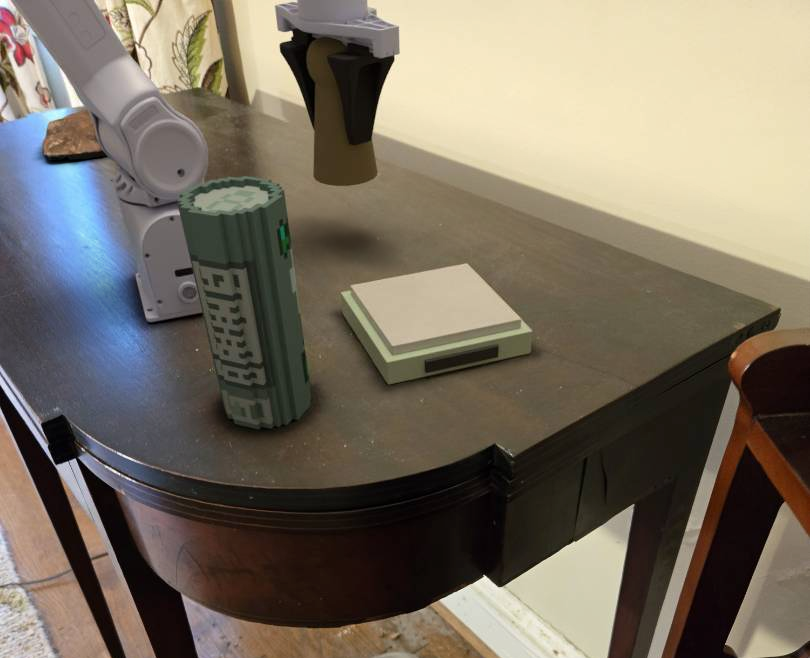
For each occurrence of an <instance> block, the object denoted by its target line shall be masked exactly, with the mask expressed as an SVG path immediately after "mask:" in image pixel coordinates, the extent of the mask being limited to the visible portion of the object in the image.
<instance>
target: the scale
mask: <svg viewBox="0 0 810 658" xmlns="http://www.w3.org/2000/svg"><path fill="white" fill-rule="evenodd" d="M349 287H350V290H347V291H346V290H345V291H341V292H340V300H341V311H342V315H343V316H344V319H346V321H347V323H348V325H349V326H350V327H351V329H352V331H353V332H354V334H355V335H356V337H357V339H358V340H359V342H360V343H361V345H362V346H363V348H364V350H365V351H366V353H367V354H368V356H369V358H370V359H371V360H372V362H373V363H374V365H375V367H376V369H377V370H378V372H379V373H380V375H381V376H382V377H383V379H384V381H385V382H386V384H387V385H388V386H390V385H393V384H397V383H402V382H407V381H411V380H416V379H420V378H426V377H429V376H434V375H439V374H443V373H447V372H451V371H456V370H461V369H465V368H470V367H474V366H479V365H484V364H487V363H492V362H497V361H502V360H505V359H510V358H516V357H520V356H524V355H529V354H531V353H532V341H533V334H534V333H533V329H532V328H531V327H530V326H529V325H528V324H527V323H526V322H525V321H524V320H523V319H522V318H521V317H520V316H519V315H518V314H517V313H516V312H515V310H513V309H512V308H511V306H510V305H509V304H508V303H506V301H504V299H503V298H502V297H501V296H500V295H499V294H498V293H497V292H496V291H495V290H494V289H493V288H492V287H491V286H490V285H489V284H488V283H487V282H486V281H485V280H484V279H483V278H482V277H481V276H480V275H479V274H478V273H477V272H476V270H475V269H473V268H472V267H471V266H470V264H468V263H467V262H466V263H462V264H457V265H451V266H450V265H449V266H446V267H441V268H434V269H429V270H423V271H419V272H415V273H414V272H413V273H408V274H403V275H399V276H398V275H397V276H392V277H388V278H382V279H377V280H372V281H371V280H370V281H367V282H366V281H365V282H361V283H355V284H350V286H349Z"/></svg>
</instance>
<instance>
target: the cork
mask: <svg viewBox="0 0 810 658" xmlns="http://www.w3.org/2000/svg"><path fill="white" fill-rule="evenodd" d="M344 51H347V46H345V45H344V44H343V43H342V41H340V40H337V39H334V38H330V37H321V38H318V39H315V40H314V41H313V42H311V44H310V46H309V48H308V51H307V57H306V61H307V68H308V71H309V74H310V76H311V77H312V79H313V80H314V82H315V122H314V129H313V137H314V138H313V178H314V180H315V181H317V182H318V183H319V184H323V185H327V186H334V187H349V186H357V185H361V184H365V183H368V182H370V181H372V180H374V179H375V178H376V177H378V167H377V161H376V154H375V149H374V142H373V138H372V139H371V141H369V142H365V143H362V144H359V145H351V144H349V141H348V138H347V134H346V128H345V121H344V114H343V107H342V101H341V97H340V93H339V89H338V86H337V83H336V80H335V77H334V74H333V72H332V70H331V68H330V65H329V63H328V61H327V55H330V54H335V53H339V52H344Z"/></svg>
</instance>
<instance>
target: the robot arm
mask: <svg viewBox="0 0 810 658" xmlns="http://www.w3.org/2000/svg"><path fill="white" fill-rule="evenodd" d="M296 1H297V2H296ZM296 1H289V2H284V3H279V4H275V5H274V10H275V19H276V26H277V27H276V28H277V31H278V32H282V33H288V32H292V36H291V37H290V40H287V41H282V42H280V43H279V46H278V47H279V52H280V54H281V56H282V57H283V59H284V61H285V62H286V63H287V65H288V67H289V68H290V71H291V73H292V75H293V76H294V79H295V81H296V83H297V85H298V88H299V91H300V93H301V96H302V99H303V102H304V105H305V108H306V111H307V115H308V118H309V120H310V123H311V126H312V129H313V130H314V122H315V82H314V80H313V79H312V77H311V76H310V74H309V71H308V68H307V61H306V57H307V51H308V48H309V46H310V44H311V42H313V41H314V40H315V39H318V38H321V37H330V38H334V39H337V40H340V41H342V43H343V44H344V45H345V46H347V51H344V52H339V53H335V54H330V55H327V61H328V63H329V65H330V68H331V70H332V72H333V74H334V77H335V80H336V83H337V86H338V89H339V93H340V97H341V101H342V107H343V114H344V121H345V128H346V134H347V138H348V141H349V144H351V145H359V144H362V143H365V142H369V141H371V139H372V140H373V133H374V128H375V122H376V116H377V110H378V106H379V101H380V98H381V94H382V90H383V87H384V84H385V82H386V79H387V77H388V75H389V72H390V71H391V68H392V66H393V64H394V63H395V56H397V55H400V53H401V52H400V26H399V25H398V24H393V23H391V22H388V21H386V20H384V19H382V18H381V17H379V16H378V13H377V12H378V11H377V8H375V7H370V6H368V5H369V4H368V0H296ZM10 2H11V3H12V5H13V6H14V7H15V10H17V12H18V13H19V14H20V15H21V17H22V19H23V20H24V21H25V22H26V24H27V25H28V27H29V28H30V29H31V30H32V32H33V34H34V35H35V36H36V37H37V39H38V40H39V41H40V43H41V44H42V46H43V47H44V48H45V49H46V51H47V52H48V53H49V55H50V56H51V58H52V59H53V60H54V62H55V63H56V65H57V66H58V67H59V68H60V70H61V71H62V72H63V74H64V75H65V77H66V78H67V79H68V81H69V82H70V84H71V86H72V88H73V90H74V92H75V94H76V96H77V98H78V100H79V101H80V102H81V103H82V105H83V106H84V108H85V109H87V111H88V112H89V114H90V116H91V118H92V121H93V124H94V128H95V133H96V137H97V140H98V142H99V144H100V146H101V148H102V150H103V151H104V152H105V154H106V156H107V157H108V158H109V159H110V160H111V161H112V162H114V163H115V164H116V165H117V168H118V169H117V172H116V177H115V184H114V189H115V192H116V195H117V200H118V203H119V207H120V209H121V211H120V212H121V214H122V217H123V221H124V225H125V228H126V232H127V235H128V240H129V242H130V246H131V249H132V253H133V257H134V260H135V263H136V268H137V271H138V272H136V273H135V275H134V277H135V280H136V284H137V288H138V291H139V297H140V299H141V300H140V301H141V304H142V307H143V312H144V316H145V319H146V321H147V322H149V323H155V322H161V321H165V320H166V321H167V320H170V319H171V320H172V319H176V318H182V317H187V316H191V315H197V314H203V313H202V309H201V304H200V300H199V296H198V291H197V287H196V282H195V278H194V274H193V269H192V265H191V261H190V256H189V252H188V247H187V243H186V239H185V234H184V230H183V226H182V221H181V217H180V213H179V208H178V204H177V200H178V199H180V196H179V194H181V193H183V192H184V191H186V190H188V189H189V188H191V187H193V186H194V185H196V184H197V183H202V184H204V183H206V181H205V177H206V173H207V171H208V166H209V150H208V149H209V148H208V145H207V141H206V139H205V137H204V135H203V133H202V131H201V129H200V128H199V127H198V126H197V125H196V124H195V122H194V121H192V120H191V119H190V118H189V117H187V116H186V115H184V114H182V113H181V112H179V111H177V110H176V109H175V108H173V107H172V106H171V105H170V104H169V102H168V100H166V98H165V97H164V95H163V93H162V91H160V89H159V88H158V86H157V85H156V84H155V83H154V81H153V80H152V79H151V78H150V76H148V75H147V74H146V72H145V71H144V70H143V69H142V68H141V66H140V65H139V64H138V63H137V62H136V60H135V59H134V58H133V57H132V55H131V54H130V53H129V51H128V50H127V48H126V47H125V45H124V43H123V42H122V41H121V39H120V38H119V36H118V35H117V33H116V32H115V30H114V29H113V27H112V26H111V24H110V23H109V21H108V19H107V18H106V16H105V15H104V13H103V12H102V10H101V9H100V7H99V6H98V4H97V3H96V1H95V0H10Z"/></svg>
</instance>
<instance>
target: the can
mask: <svg viewBox="0 0 810 658" xmlns="http://www.w3.org/2000/svg"><path fill="white" fill-rule="evenodd" d="M179 196H180V199H178V200H177V204H178V208H179V213H180V217H181V221H182V226H183V230H184V234H185V239H186V243H187V247H188V252H189V256H190V261H191V265H192V269H193V274H194V278H195V282H196V287H197V291H198V296H199V300H200V304H201V309H202V313H201V314H202V317H203V321H204V326H205V331H206V334H207V339H208V344H209V348H210V352H211V356H212V361H213V365H214V369H215V374H216V378H217V382H218V383H217V384H218V387H219V391H220V397H221V399H222V405H223V409H224V410H225V414H226V416H227V419H230V420H233V423H234V425H238V426H242V427H247V428H250V429H253V430H260V429H261V428H266V429H269V430H272V429H273V428H274V427H277V428H280V427H281V426H282V425H285V426H288V425H289V424H290V423H291V422H292V420H295V421H298V420H299V419H300V418H301V417H302V416H303V415H304V414H305V413H306V411H307V410H308V409H309V408H310V407H311V406H312V403H311V400H312V392H311V385H310V376H309V367H308V362H307V353H306V346H305V338H304V332H303V331H304V330H303V324H302V323H303V322H302V316H301V308H300V301H299V300H300V299H299V292H298V285H297V279H296V271H295V269H296V268H295V263H294V255H293V247H292V240H291V233H290V224H289V217H288V210H287V202H286V195H285V189H283V187H282V185H281V186H280V183H279V182H273V181H272V179H269V178H263V177H256V176H247V175H242V176H240V177H236V176H227V177H226V178H224V177H219V178H218V179H212V178H211V179H209V180H207V181H205V183H204V184H202V183H197V184H196V185H194V186H193V187H191V188H189V189H188V190H186V191H184V192H183V193H181V194H179Z"/></svg>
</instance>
